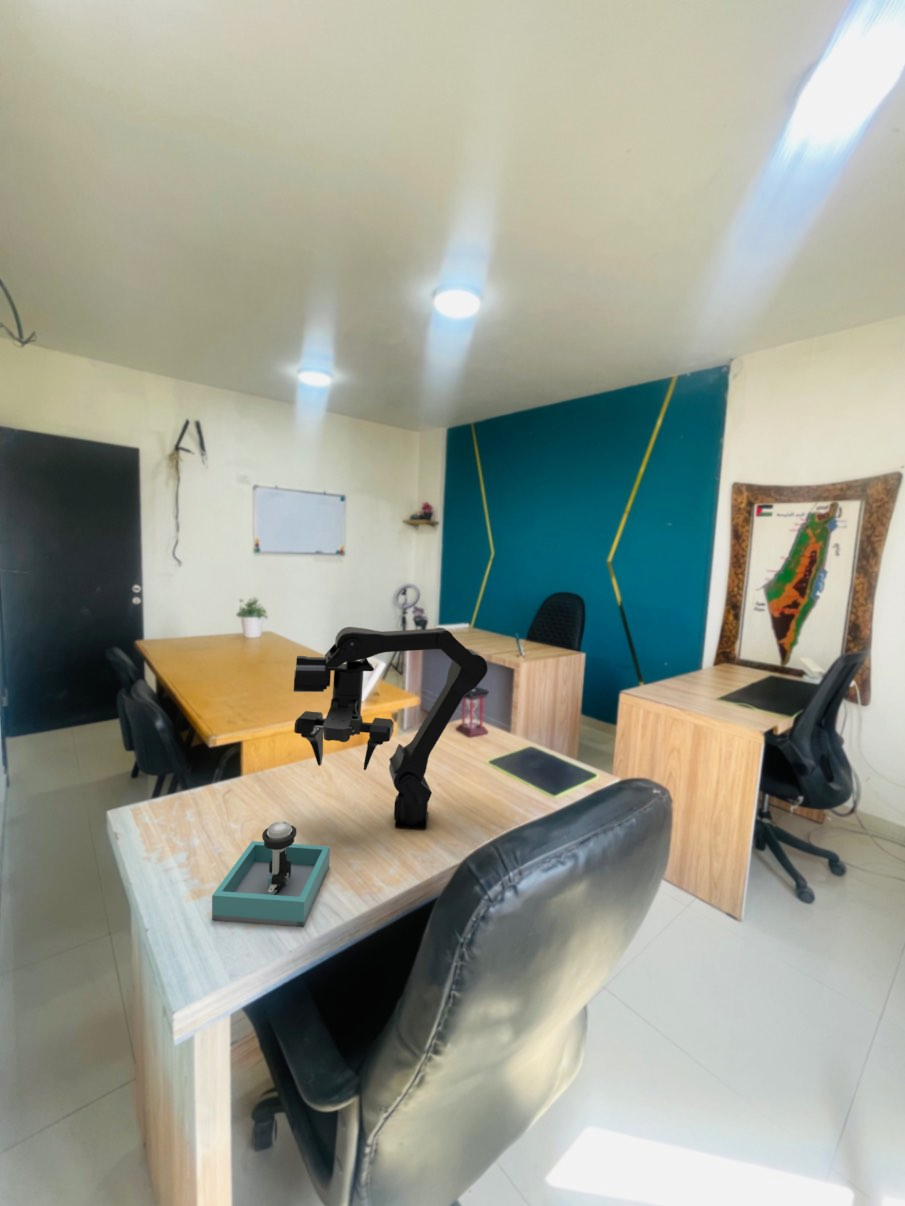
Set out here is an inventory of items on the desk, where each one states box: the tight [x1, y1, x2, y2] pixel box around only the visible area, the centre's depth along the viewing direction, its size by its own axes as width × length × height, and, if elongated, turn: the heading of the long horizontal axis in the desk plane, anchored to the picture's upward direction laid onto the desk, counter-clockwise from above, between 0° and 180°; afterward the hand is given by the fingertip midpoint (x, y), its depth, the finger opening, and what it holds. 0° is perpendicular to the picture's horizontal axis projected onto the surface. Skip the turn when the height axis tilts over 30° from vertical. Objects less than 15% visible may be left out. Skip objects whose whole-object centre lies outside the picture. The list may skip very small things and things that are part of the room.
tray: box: [211, 840, 331, 927], centre depth 82 cm, size 14×14×4 cm
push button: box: [261, 820, 297, 895], centre depth 82 cm, size 7×5×10 cm
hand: (342, 767), depth 100 cm, fingers open, 9 cm apart
